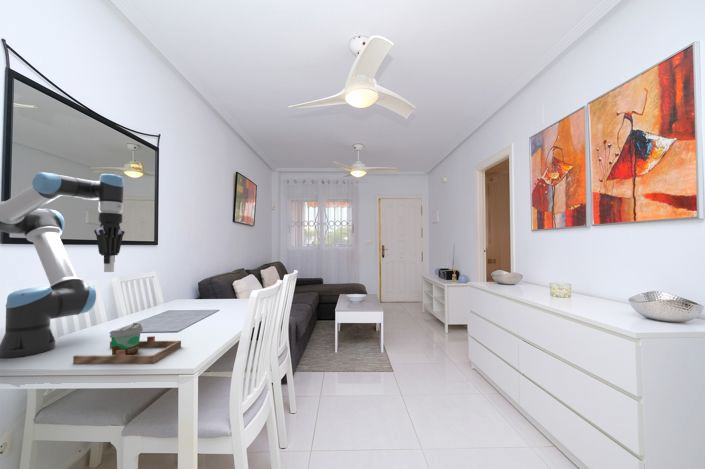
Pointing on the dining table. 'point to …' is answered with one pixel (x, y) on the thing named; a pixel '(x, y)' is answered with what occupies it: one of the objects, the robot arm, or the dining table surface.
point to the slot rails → (123, 358)
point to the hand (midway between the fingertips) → (108, 271)
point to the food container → (126, 339)
